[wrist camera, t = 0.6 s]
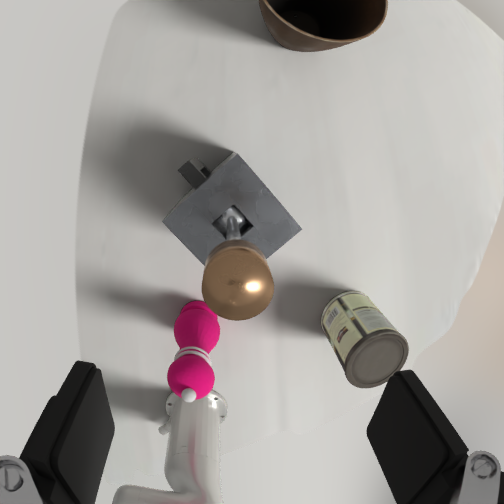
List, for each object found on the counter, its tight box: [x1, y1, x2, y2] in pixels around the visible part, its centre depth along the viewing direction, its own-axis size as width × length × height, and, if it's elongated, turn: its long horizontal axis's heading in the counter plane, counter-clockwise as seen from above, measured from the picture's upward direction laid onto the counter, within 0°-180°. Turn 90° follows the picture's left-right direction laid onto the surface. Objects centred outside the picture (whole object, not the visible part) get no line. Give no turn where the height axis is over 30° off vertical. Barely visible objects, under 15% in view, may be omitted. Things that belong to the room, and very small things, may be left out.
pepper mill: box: [167, 301, 220, 402], centre depth 43 cm, size 7×7×20 cm
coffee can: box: [321, 291, 409, 388], centre depth 48 cm, size 10×10×14 cm
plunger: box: [202, 204, 274, 320], centre depth 26 cm, size 7×7×17 cm
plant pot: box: [259, 0, 388, 52], centre depth 32 cm, size 15×15×16 cm
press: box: [162, 152, 302, 266], centre depth 39 cm, size 10×13×16 cm
